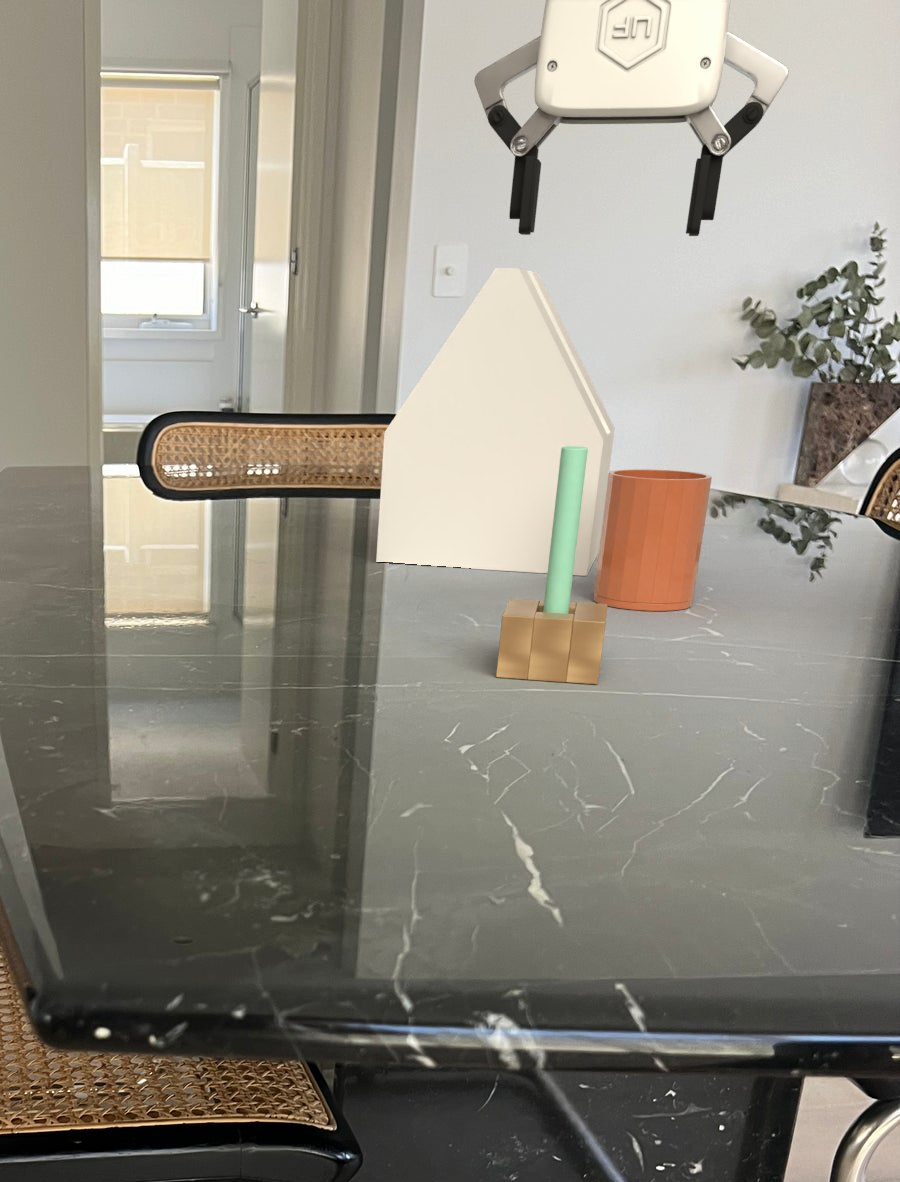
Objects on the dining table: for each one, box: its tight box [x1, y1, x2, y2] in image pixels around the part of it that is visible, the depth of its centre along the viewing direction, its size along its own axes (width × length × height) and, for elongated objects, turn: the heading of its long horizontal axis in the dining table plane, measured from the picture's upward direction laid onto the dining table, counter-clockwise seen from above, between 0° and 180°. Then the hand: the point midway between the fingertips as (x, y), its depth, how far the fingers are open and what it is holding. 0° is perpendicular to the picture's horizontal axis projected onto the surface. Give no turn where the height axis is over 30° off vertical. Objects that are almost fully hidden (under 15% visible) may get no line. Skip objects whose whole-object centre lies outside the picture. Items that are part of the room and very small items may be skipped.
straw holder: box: [495, 597, 608, 685], centre depth 96 cm, size 6×6×4 cm
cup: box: [592, 468, 713, 612], centre depth 118 cm, size 8×8×10 cm
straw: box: [543, 446, 588, 614], centre depth 94 cm, size 2×2×14 cm
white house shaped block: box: [375, 267, 616, 577], centre depth 136 cm, size 19×15×25 cm
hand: (608, 234), depth 87 cm, fingers open, 9 cm apart
